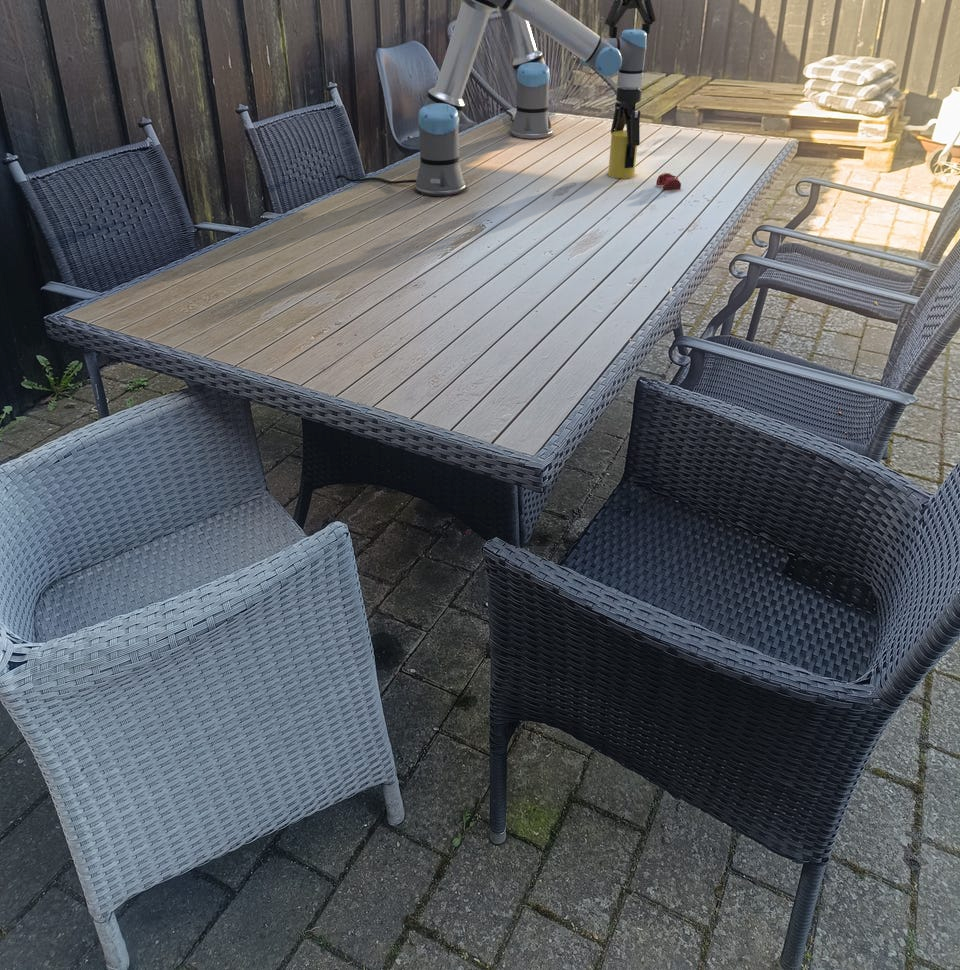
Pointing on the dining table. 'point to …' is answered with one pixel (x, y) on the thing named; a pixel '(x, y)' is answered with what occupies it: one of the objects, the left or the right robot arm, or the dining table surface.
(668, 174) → the dental model
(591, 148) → the dining table surface
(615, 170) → the cylinder
